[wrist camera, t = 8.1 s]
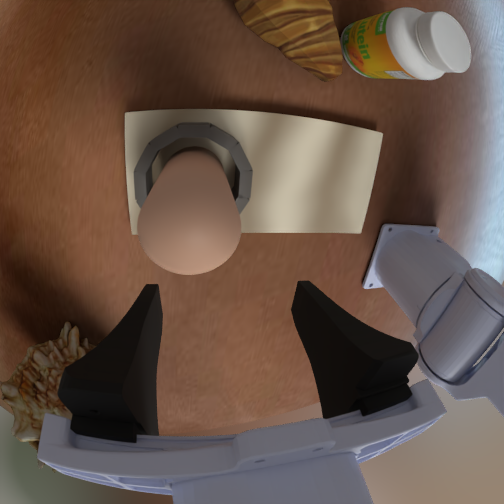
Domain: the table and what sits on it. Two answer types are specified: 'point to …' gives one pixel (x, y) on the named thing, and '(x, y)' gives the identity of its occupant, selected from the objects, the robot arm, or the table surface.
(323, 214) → the holder board
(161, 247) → the peg
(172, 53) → the table surface
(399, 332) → the table surface
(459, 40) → the supplement bottle
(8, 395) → the seashell
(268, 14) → the croissant
